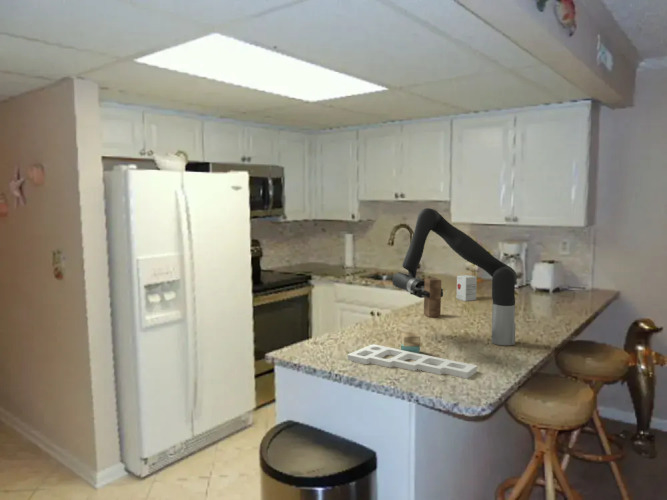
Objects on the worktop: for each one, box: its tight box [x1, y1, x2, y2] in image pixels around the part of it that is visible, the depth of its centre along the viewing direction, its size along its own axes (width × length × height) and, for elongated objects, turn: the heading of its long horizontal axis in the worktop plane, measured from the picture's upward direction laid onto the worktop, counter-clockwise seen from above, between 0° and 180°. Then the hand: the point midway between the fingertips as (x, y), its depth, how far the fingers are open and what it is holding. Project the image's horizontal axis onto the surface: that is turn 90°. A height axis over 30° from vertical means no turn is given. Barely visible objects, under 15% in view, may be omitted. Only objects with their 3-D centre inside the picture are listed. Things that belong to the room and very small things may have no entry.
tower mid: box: [401, 331, 421, 347], centre depth 198 cm, size 6×6×4 cm
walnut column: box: [423, 277, 442, 318], centre depth 200 cm, size 5×5×15 cm
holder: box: [347, 343, 478, 379], centre depth 183 cm, size 45×18×3 cm, turn 52°
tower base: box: [400, 343, 421, 354], centre depth 199 cm, size 7×7×4 cm
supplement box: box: [456, 274, 478, 302], centre depth 310 cm, size 9×9×15 cm
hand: (435, 294), depth 197 cm, fingers closed on walnut column, 5 cm apart
